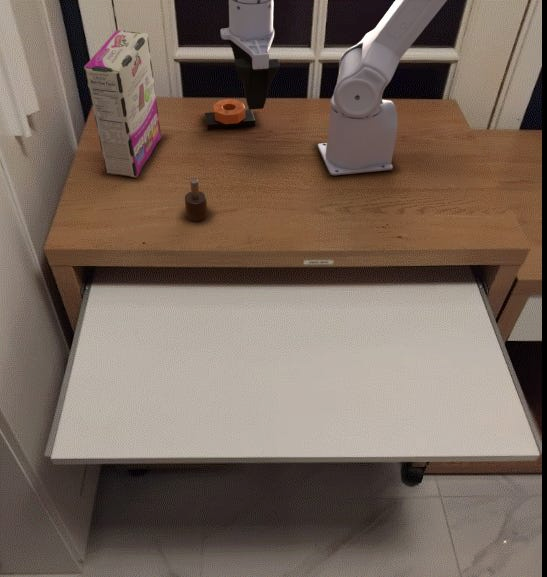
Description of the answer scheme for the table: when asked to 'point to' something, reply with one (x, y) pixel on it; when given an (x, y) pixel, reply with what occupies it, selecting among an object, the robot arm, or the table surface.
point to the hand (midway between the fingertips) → (251, 94)
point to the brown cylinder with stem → (195, 203)
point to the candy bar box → (124, 102)
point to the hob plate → (214, 124)
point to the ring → (229, 111)
